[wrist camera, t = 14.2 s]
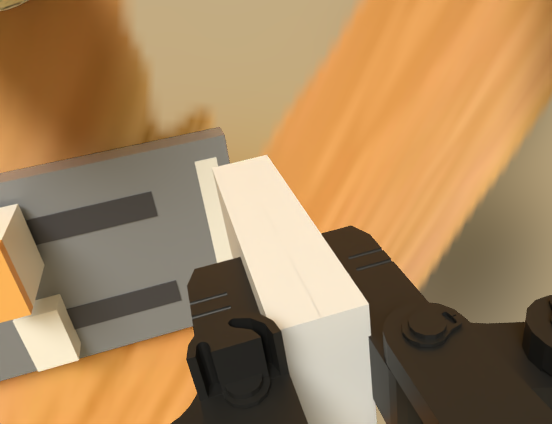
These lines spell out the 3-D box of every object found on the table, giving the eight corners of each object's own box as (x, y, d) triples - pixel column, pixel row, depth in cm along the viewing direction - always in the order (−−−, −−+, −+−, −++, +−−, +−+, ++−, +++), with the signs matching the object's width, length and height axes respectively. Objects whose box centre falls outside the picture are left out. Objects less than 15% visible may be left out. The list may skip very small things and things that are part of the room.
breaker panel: (219, 127, 36) (229, 143, 33) (251, 294, 44) (262, 322, 40) (-135, 201, 32) (-166, 229, 28) (-31, 373, 39) (-46, 412, 36)
